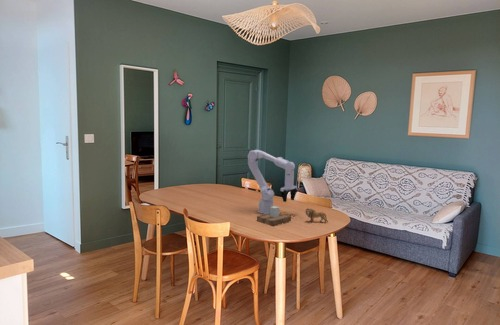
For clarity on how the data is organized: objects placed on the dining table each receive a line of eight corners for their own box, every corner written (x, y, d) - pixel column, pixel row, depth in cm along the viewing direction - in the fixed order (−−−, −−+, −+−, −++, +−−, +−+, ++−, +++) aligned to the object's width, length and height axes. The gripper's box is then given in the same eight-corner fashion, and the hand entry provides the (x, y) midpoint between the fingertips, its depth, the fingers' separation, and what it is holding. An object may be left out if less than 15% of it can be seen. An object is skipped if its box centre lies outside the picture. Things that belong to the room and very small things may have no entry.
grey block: (269, 216, 228) (270, 207, 227) (274, 215, 231) (274, 206, 230) (274, 217, 225) (274, 208, 225) (278, 216, 228) (279, 207, 227)
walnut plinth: (256, 220, 228) (257, 216, 228) (274, 216, 239) (274, 212, 239) (273, 226, 218) (273, 221, 218) (290, 221, 229) (291, 216, 229)
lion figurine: (305, 223, 226) (306, 208, 225) (304, 220, 232) (304, 206, 231) (329, 223, 227) (330, 209, 226) (327, 220, 233) (327, 207, 231)
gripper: (286, 182, 232) (285, 203, 234) (301, 180, 242) (300, 200, 244) (278, 180, 237) (277, 201, 239) (293, 178, 247) (292, 198, 249)
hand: (288, 200), depth 242 cm, fingers open, 7 cm apart
